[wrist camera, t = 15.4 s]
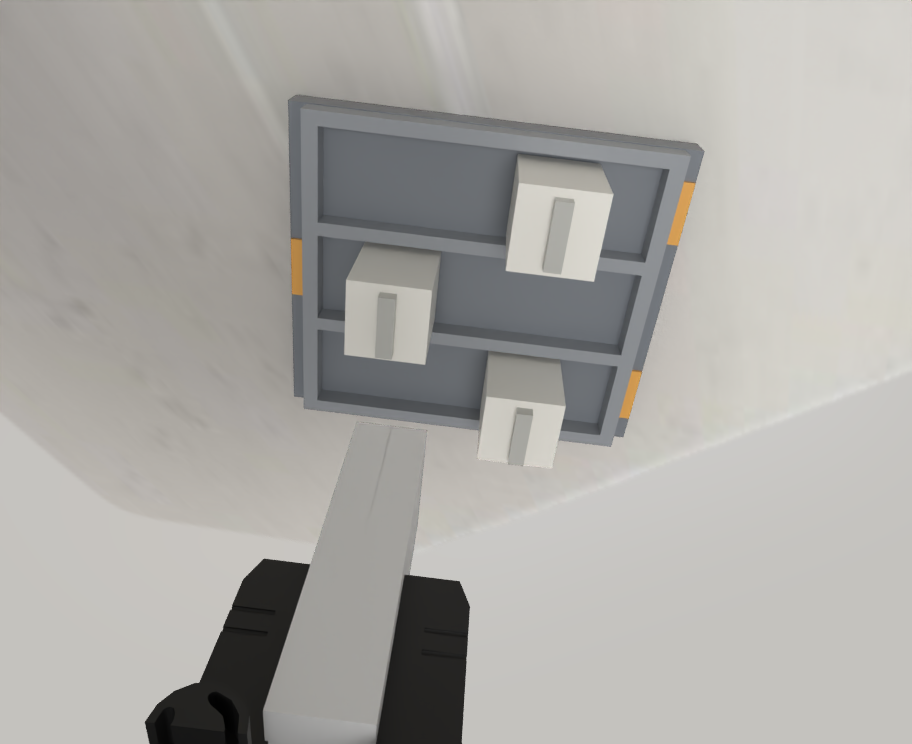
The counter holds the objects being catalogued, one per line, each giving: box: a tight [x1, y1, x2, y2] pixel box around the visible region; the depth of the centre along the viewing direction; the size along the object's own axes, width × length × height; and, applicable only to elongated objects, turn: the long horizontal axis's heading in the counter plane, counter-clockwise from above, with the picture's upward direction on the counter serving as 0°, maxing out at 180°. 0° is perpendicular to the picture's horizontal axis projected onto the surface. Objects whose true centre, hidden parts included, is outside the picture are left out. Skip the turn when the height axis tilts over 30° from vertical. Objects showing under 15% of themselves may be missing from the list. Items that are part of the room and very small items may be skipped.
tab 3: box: [477, 351, 566, 469], centre depth 38 cm, size 4×4×6 cm
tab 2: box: [506, 154, 614, 282], centre depth 32 cm, size 4×4×6 cm
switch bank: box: [288, 95, 704, 447], centre depth 38 cm, size 20×17×3 cm
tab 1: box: [344, 242, 441, 365], centre depth 35 cm, size 4×4×6 cm
